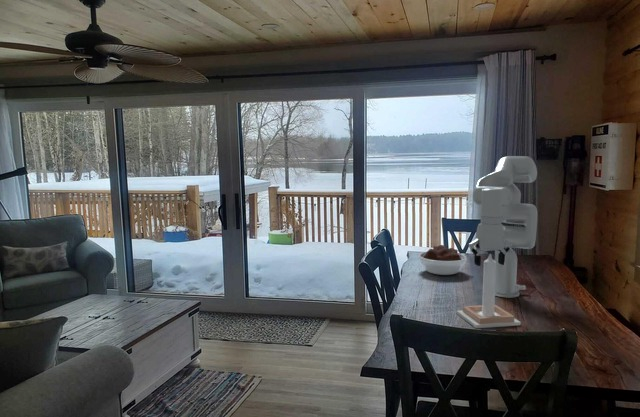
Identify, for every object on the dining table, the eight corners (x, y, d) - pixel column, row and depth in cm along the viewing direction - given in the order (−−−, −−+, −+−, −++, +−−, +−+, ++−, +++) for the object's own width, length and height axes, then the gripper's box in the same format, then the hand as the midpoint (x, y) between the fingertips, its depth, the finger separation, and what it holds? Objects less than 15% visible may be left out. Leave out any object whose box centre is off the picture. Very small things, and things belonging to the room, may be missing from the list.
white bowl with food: (476, 276, 239) (477, 248, 237) (436, 281, 229) (437, 252, 228) (446, 265, 262) (447, 240, 260) (409, 270, 253) (410, 243, 251)
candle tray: (497, 310, 186) (498, 303, 185) (520, 325, 170) (520, 317, 170) (456, 313, 183) (456, 305, 183) (475, 328, 168) (476, 319, 167)
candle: (493, 312, 180) (495, 251, 177) (500, 318, 173) (503, 255, 170) (475, 312, 180) (477, 251, 177) (482, 319, 173) (485, 255, 170)
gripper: (506, 218, 177) (504, 261, 179) (465, 220, 175) (463, 263, 177) (517, 221, 170) (515, 266, 172) (474, 222, 167) (473, 268, 169)
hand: (489, 264), depth 174 cm, fingers open, 9 cm apart
